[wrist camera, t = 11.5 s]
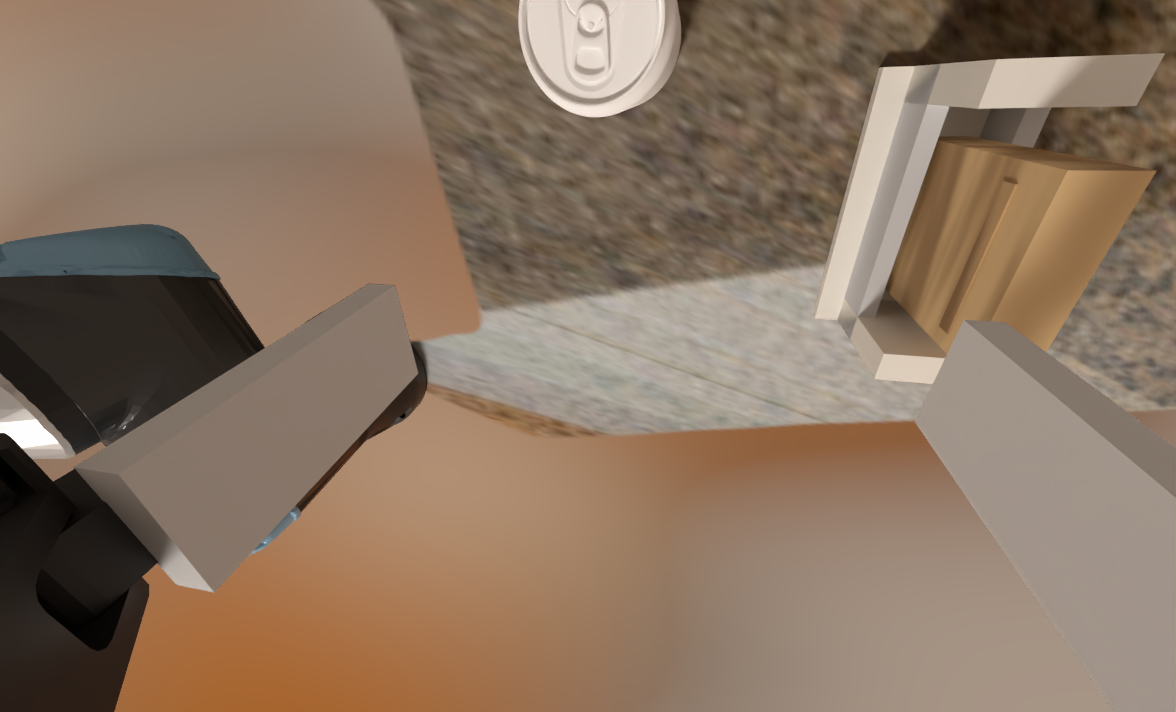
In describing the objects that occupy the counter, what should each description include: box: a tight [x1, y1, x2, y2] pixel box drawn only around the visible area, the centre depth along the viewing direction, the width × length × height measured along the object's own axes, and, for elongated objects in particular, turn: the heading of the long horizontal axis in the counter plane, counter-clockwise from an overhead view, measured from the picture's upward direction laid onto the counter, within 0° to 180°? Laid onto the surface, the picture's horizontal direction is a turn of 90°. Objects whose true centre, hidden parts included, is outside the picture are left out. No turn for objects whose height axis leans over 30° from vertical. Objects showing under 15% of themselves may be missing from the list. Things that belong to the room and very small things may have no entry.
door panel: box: [885, 136, 1156, 354], centre depth 26 cm, size 3×10×14 cm, turn 2°
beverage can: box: [518, 0, 681, 117], centre depth 26 cm, size 8×8×12 cm
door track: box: [813, 53, 1165, 384], centre depth 29 cm, size 10×18×10 cm, turn 1°
